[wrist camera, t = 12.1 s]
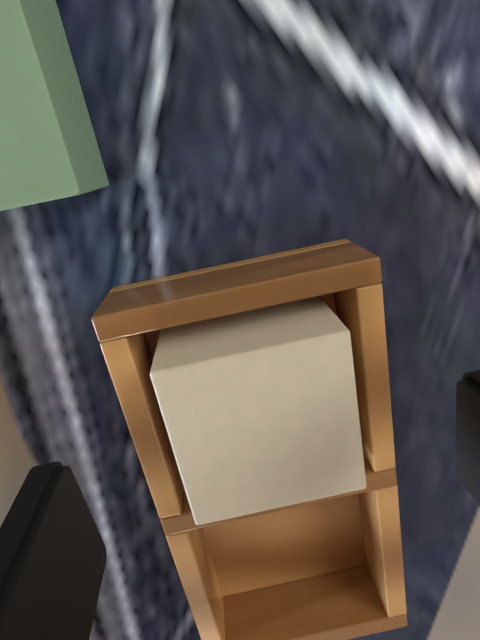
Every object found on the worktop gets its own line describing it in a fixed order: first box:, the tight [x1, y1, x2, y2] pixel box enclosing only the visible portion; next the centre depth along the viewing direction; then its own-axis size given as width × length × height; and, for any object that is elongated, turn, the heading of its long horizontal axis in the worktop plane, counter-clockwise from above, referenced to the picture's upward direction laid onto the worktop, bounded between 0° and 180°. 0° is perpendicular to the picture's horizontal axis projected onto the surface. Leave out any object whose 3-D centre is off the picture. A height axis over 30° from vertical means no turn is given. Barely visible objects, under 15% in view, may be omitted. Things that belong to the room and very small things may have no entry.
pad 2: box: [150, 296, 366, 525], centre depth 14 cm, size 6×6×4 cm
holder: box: [91, 239, 407, 640], centre depth 16 cm, size 16×8×3 cm, turn 11°
